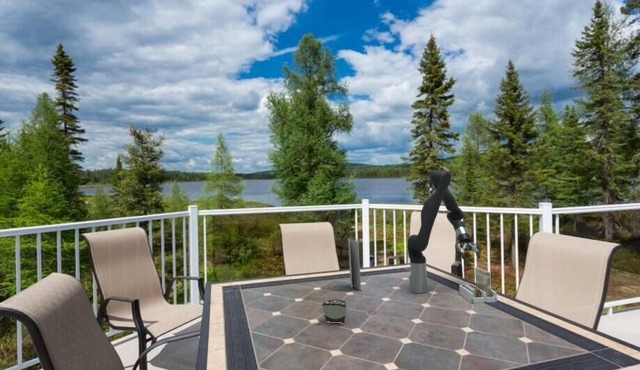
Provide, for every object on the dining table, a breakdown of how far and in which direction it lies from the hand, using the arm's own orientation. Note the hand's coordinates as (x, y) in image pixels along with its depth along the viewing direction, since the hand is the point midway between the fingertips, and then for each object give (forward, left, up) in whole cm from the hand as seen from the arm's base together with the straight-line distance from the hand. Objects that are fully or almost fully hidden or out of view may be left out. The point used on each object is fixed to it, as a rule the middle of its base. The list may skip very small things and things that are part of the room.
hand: (471, 258), depth 216 cm
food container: (-90, +7, -19) cm, 92 cm away
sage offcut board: (-13, -8, -19) cm, 24 cm away
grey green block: (-11, -9, -19) cm, 24 cm away
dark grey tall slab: (-50, +48, -19) cm, 72 cm away
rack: (-10, -10, -19) cm, 23 cm away
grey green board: (-7, -12, -19) cm, 23 cm away
